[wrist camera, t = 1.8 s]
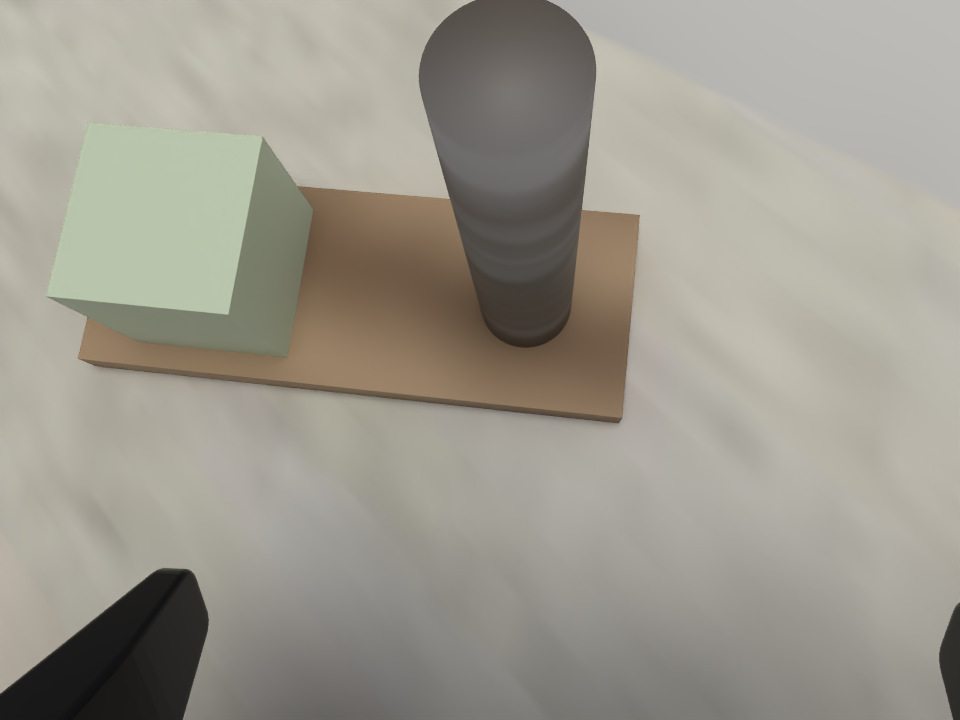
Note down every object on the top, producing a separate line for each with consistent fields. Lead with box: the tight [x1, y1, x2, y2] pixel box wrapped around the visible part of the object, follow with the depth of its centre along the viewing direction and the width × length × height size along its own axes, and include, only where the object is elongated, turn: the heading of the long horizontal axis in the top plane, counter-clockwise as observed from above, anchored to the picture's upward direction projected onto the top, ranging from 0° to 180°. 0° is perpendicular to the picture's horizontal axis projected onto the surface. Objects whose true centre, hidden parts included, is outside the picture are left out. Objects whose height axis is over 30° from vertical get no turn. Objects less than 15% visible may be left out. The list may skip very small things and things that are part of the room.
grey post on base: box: [78, 0, 640, 423], centre depth 19 cm, size 6×16×13 cm, turn 83°
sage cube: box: [46, 123, 313, 357], centre depth 22 cm, size 5×5×5 cm
